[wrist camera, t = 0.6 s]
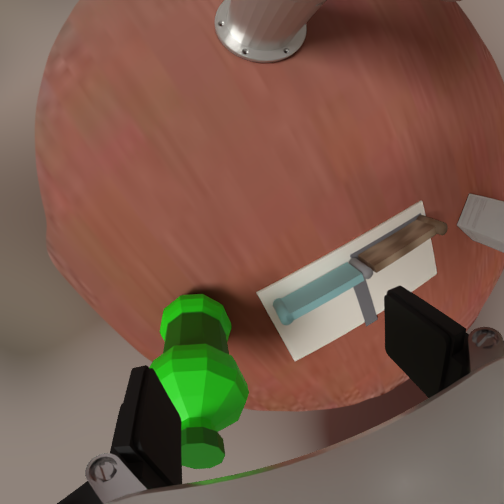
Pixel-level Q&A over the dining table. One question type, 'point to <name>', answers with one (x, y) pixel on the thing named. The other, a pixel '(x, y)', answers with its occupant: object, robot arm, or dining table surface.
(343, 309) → the card
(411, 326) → the robot arm
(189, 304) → the plastic bottle
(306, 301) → the teal bar
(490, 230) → the supplement box
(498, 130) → the dining table surface
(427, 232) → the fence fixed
